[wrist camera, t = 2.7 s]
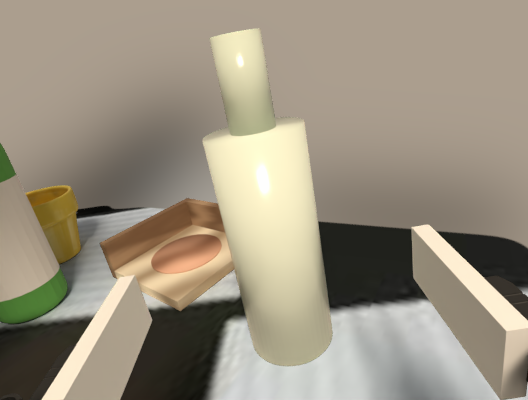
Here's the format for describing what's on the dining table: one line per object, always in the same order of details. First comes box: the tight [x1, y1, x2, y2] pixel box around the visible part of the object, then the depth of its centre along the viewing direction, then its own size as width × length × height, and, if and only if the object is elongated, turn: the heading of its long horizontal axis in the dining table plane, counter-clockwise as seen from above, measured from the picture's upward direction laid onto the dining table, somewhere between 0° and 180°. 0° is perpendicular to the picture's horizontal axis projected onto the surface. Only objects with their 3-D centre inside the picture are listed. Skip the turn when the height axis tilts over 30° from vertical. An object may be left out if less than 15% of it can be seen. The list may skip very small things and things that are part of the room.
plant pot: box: [25, 186, 81, 264], centre depth 52 cm, size 10×10×10 cm
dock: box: [100, 198, 234, 311], centre depth 45 cm, size 14×14×5 cm
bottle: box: [203, 29, 333, 366], centre depth 26 cm, size 7×7×24 cm
